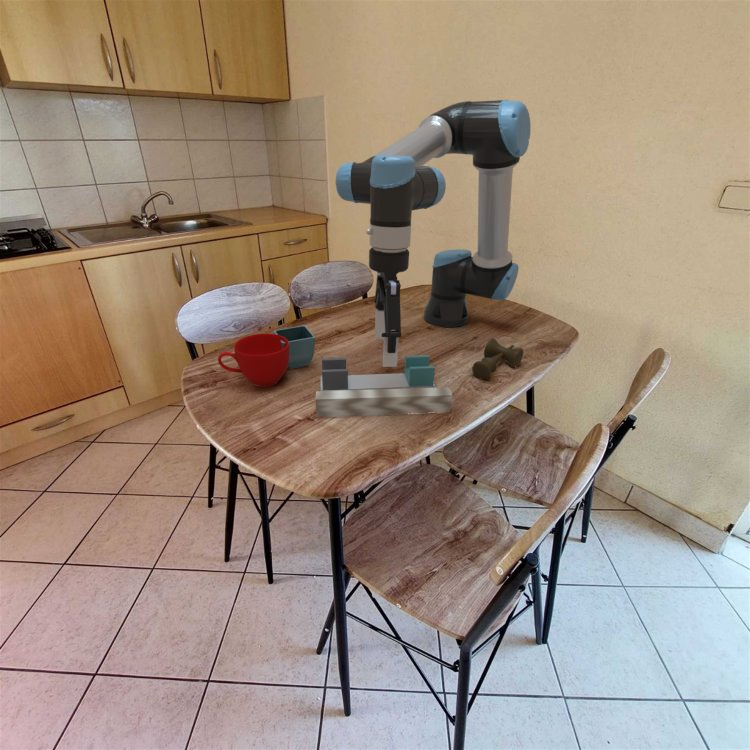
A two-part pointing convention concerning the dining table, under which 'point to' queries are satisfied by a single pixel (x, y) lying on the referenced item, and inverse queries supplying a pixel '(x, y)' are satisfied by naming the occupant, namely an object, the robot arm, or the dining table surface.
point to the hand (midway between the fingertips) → (385, 351)
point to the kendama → (496, 358)
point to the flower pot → (298, 345)
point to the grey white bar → (382, 402)
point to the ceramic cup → (260, 358)
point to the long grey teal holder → (377, 376)
